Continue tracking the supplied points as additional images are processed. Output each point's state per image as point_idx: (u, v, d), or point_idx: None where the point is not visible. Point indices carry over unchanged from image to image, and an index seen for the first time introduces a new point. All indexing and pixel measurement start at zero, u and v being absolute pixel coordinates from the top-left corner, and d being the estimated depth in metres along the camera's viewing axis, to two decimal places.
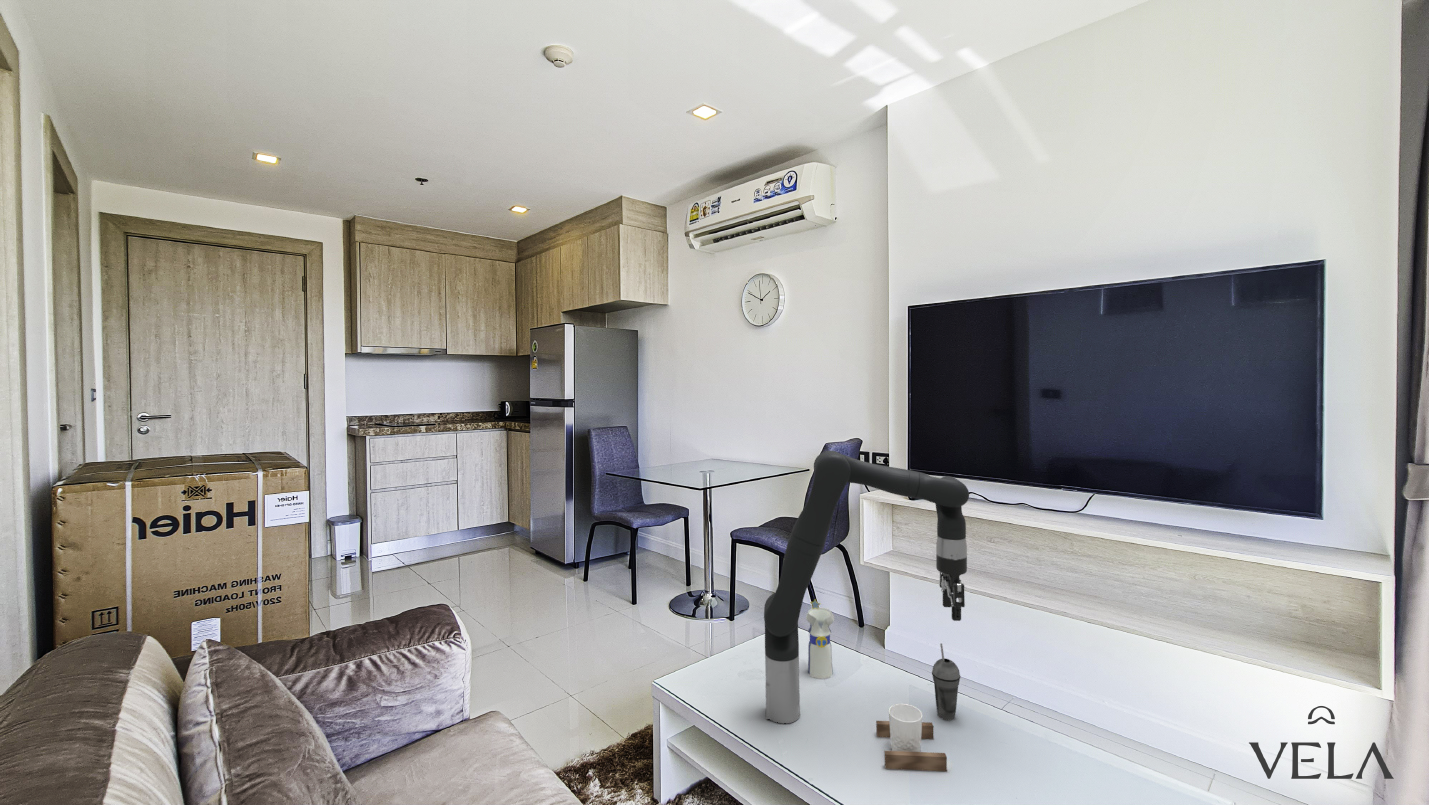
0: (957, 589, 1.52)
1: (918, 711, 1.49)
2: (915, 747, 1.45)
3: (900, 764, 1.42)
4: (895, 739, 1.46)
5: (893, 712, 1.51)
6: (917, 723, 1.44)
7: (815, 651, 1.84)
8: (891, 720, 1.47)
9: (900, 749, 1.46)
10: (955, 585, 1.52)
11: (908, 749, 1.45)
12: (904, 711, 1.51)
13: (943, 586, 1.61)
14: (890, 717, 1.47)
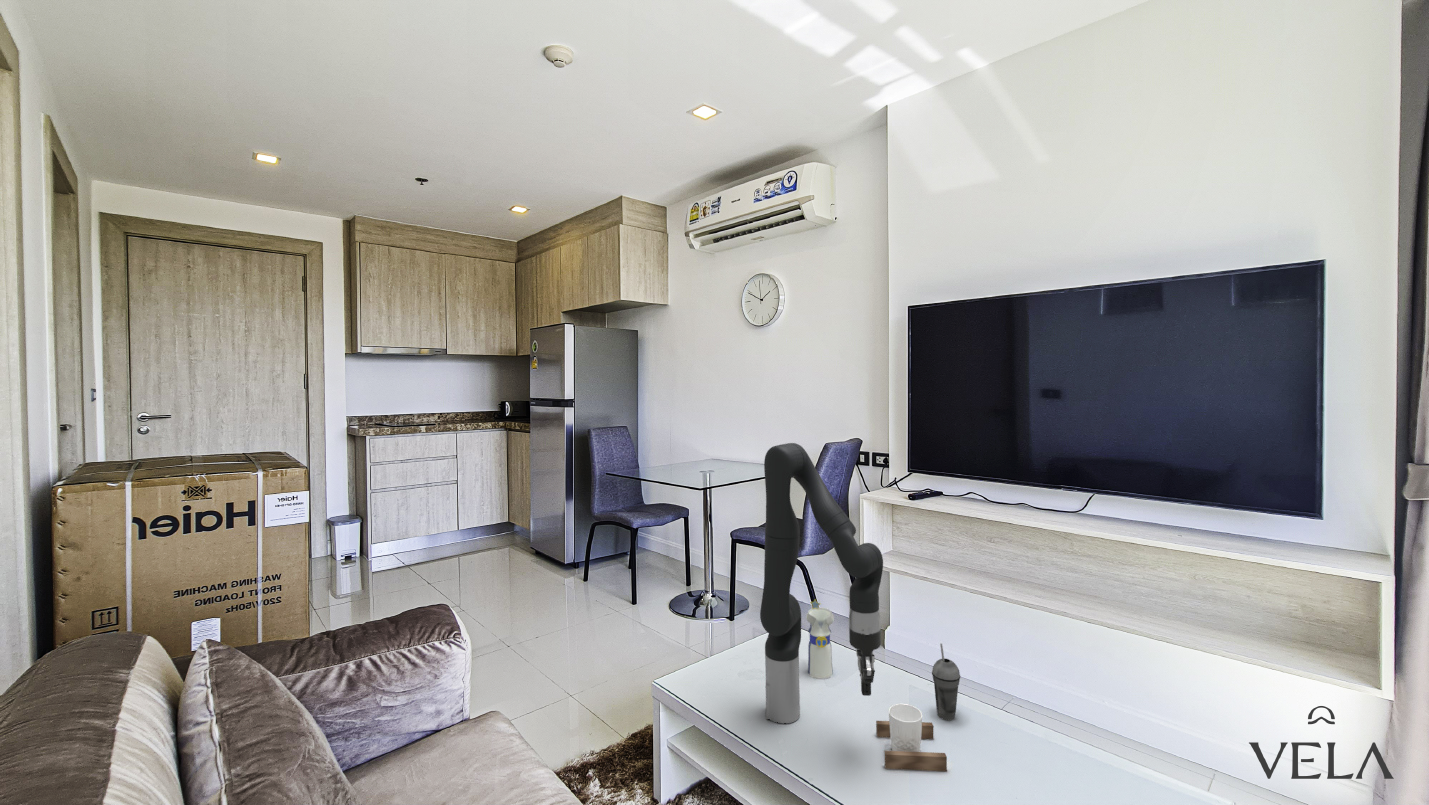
0: (867, 674, 1.43)
1: (918, 711, 1.49)
2: (915, 747, 1.45)
3: (900, 764, 1.42)
4: (895, 739, 1.46)
5: (893, 712, 1.51)
6: (917, 723, 1.44)
7: (815, 651, 1.84)
8: (891, 720, 1.47)
9: (900, 749, 1.46)
10: (865, 672, 1.42)
11: (908, 749, 1.45)
12: (904, 711, 1.51)
13: None
14: (890, 717, 1.47)
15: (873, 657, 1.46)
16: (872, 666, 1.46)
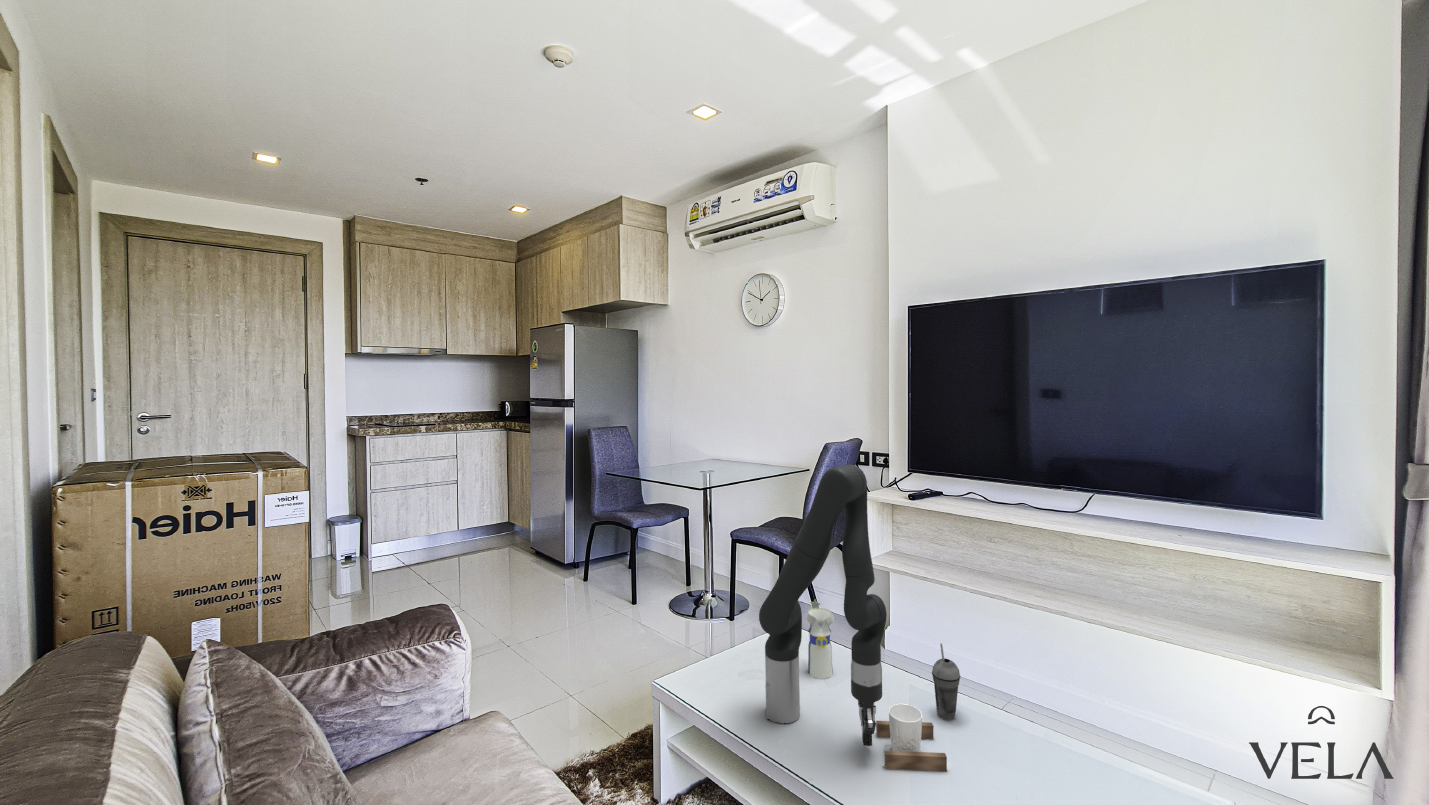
0: (868, 727, 1.43)
1: (918, 711, 1.49)
2: (915, 747, 1.45)
3: (900, 764, 1.42)
4: (895, 739, 1.46)
5: (893, 712, 1.51)
6: (917, 723, 1.44)
7: (815, 651, 1.84)
8: (891, 720, 1.47)
9: (900, 749, 1.46)
10: (866, 725, 1.43)
11: (908, 749, 1.45)
12: (904, 711, 1.51)
13: None
14: (890, 717, 1.47)
15: (874, 708, 1.47)
16: (873, 717, 1.47)
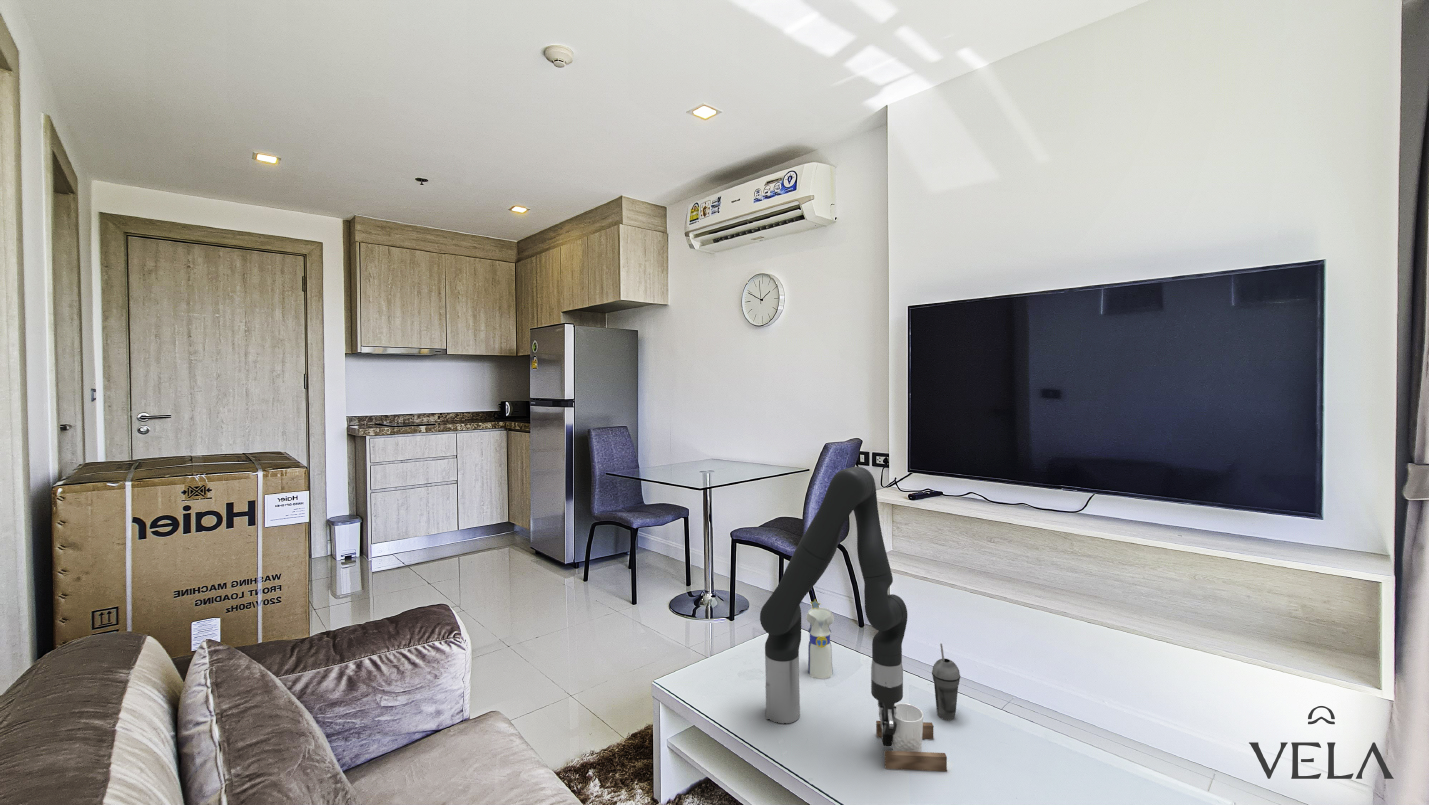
0: (889, 728, 1.43)
1: (919, 711, 1.49)
2: (916, 747, 1.45)
3: (900, 764, 1.42)
4: (896, 738, 1.46)
5: None
6: (918, 723, 1.44)
7: (815, 651, 1.84)
8: None
9: (901, 748, 1.46)
10: (887, 726, 1.42)
11: (909, 749, 1.45)
12: (906, 711, 1.51)
13: None
14: None
15: (895, 709, 1.46)
16: None
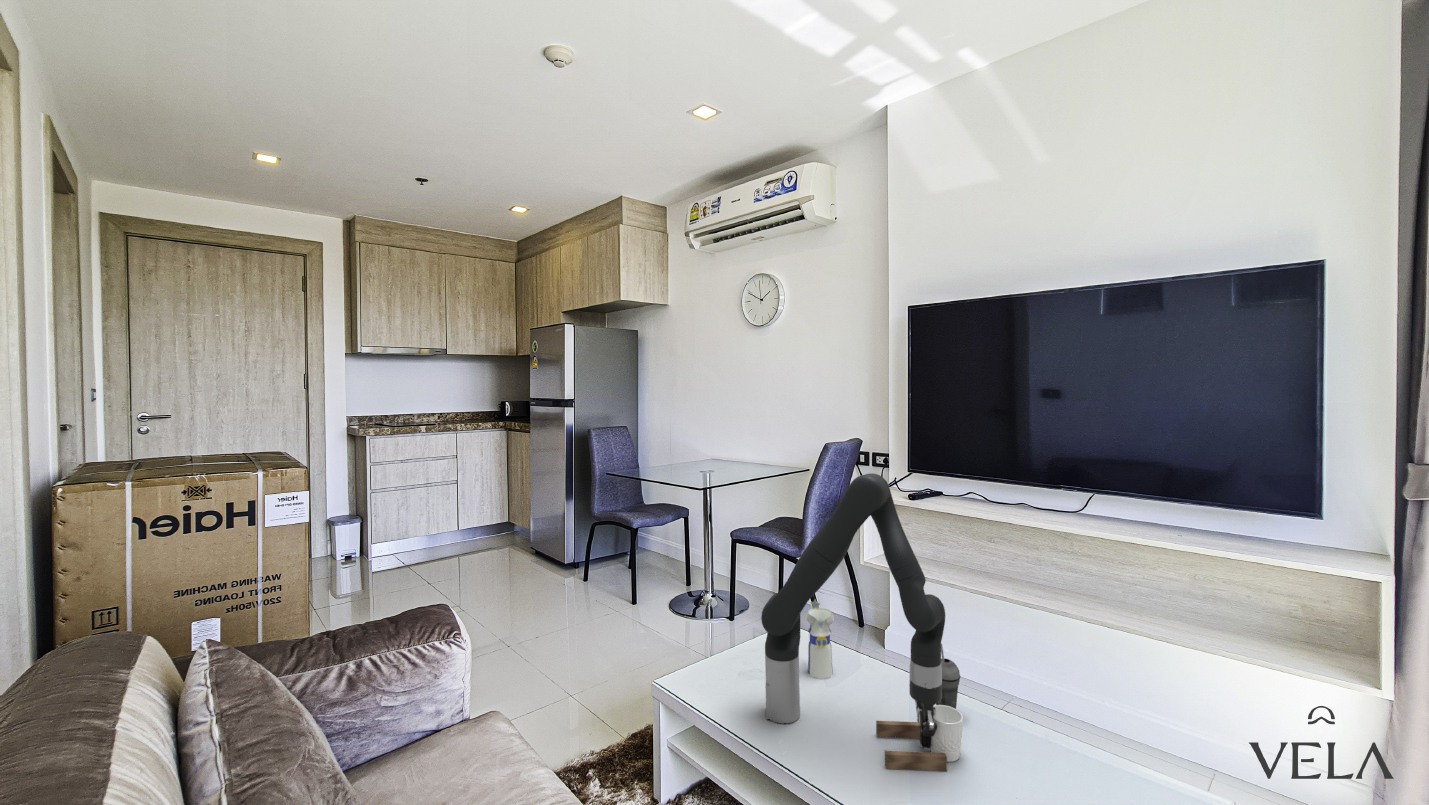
0: (929, 729, 1.42)
1: (959, 713, 1.47)
2: (954, 749, 1.44)
3: (900, 764, 1.42)
4: (934, 740, 1.46)
5: None
6: (957, 725, 1.43)
7: (815, 651, 1.84)
8: None
9: (939, 750, 1.45)
10: (927, 727, 1.41)
11: (947, 751, 1.44)
12: (945, 713, 1.50)
13: (919, 716, 1.48)
14: None
15: (934, 710, 1.45)
16: None
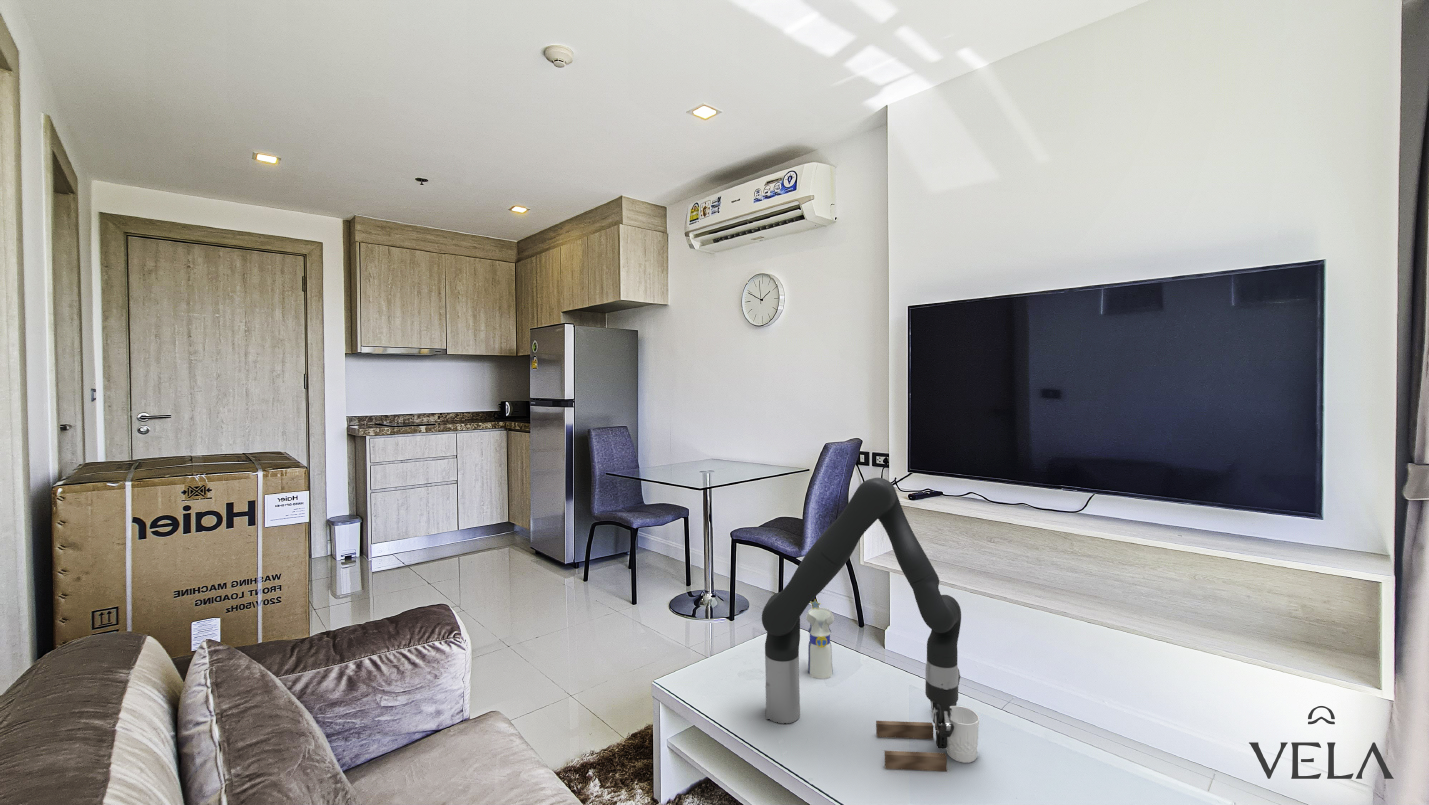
0: (945, 730, 1.42)
1: (975, 715, 1.46)
2: (970, 750, 1.43)
3: (900, 764, 1.42)
4: (950, 740, 1.45)
5: None
6: (972, 726, 1.43)
7: (815, 651, 1.84)
8: None
9: (954, 751, 1.44)
10: (944, 728, 1.41)
11: (963, 752, 1.43)
12: (962, 714, 1.50)
13: (935, 717, 1.48)
14: None
15: (950, 711, 1.45)
16: None
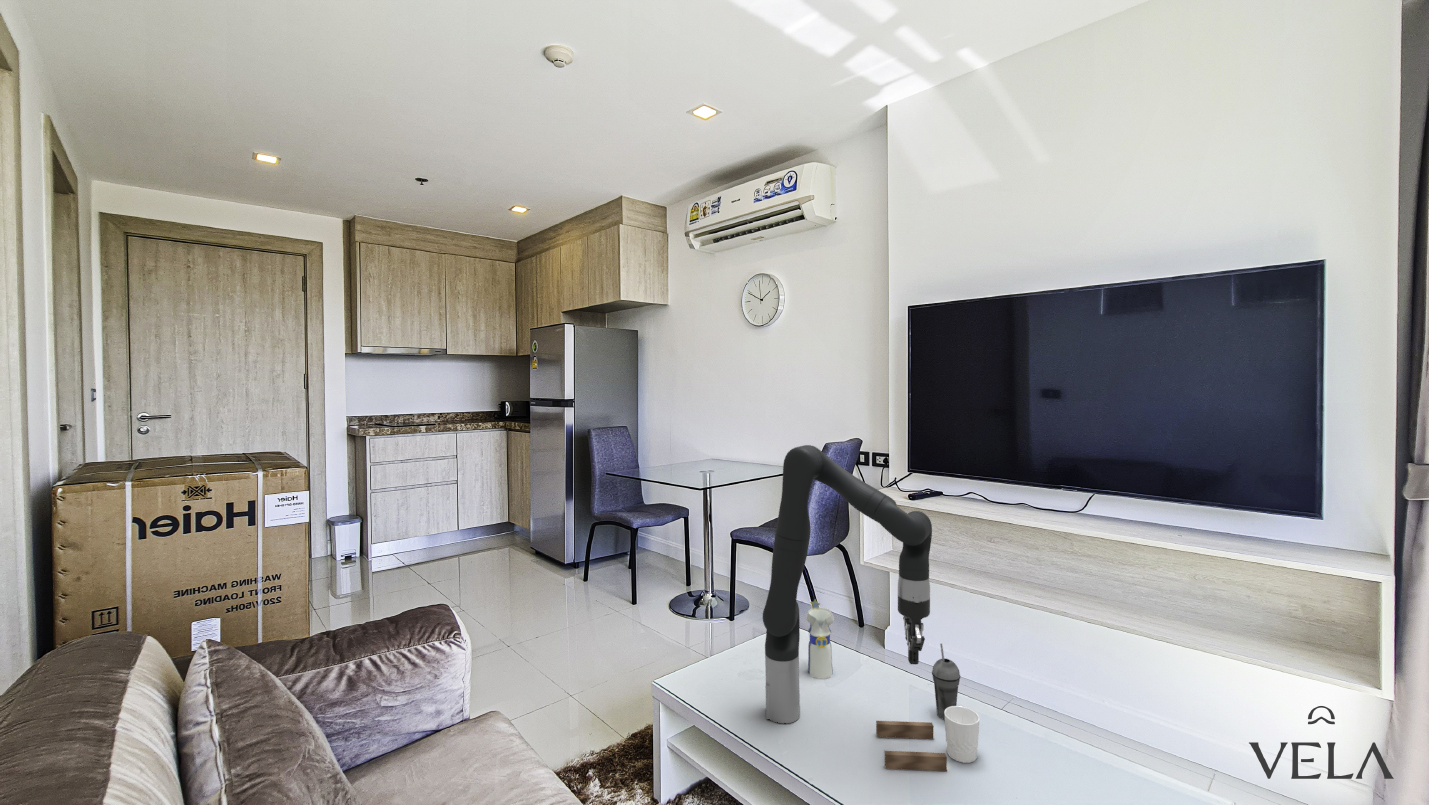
0: (916, 642, 1.42)
1: (976, 715, 1.46)
2: (971, 750, 1.43)
3: (900, 764, 1.42)
4: (950, 740, 1.45)
5: (950, 713, 1.50)
6: (973, 726, 1.43)
7: (815, 651, 1.84)
8: (946, 721, 1.46)
9: (955, 751, 1.44)
10: (915, 640, 1.41)
11: (963, 752, 1.43)
12: (962, 714, 1.50)
13: (907, 633, 1.48)
14: (945, 718, 1.46)
15: (922, 625, 1.45)
16: (921, 634, 1.45)
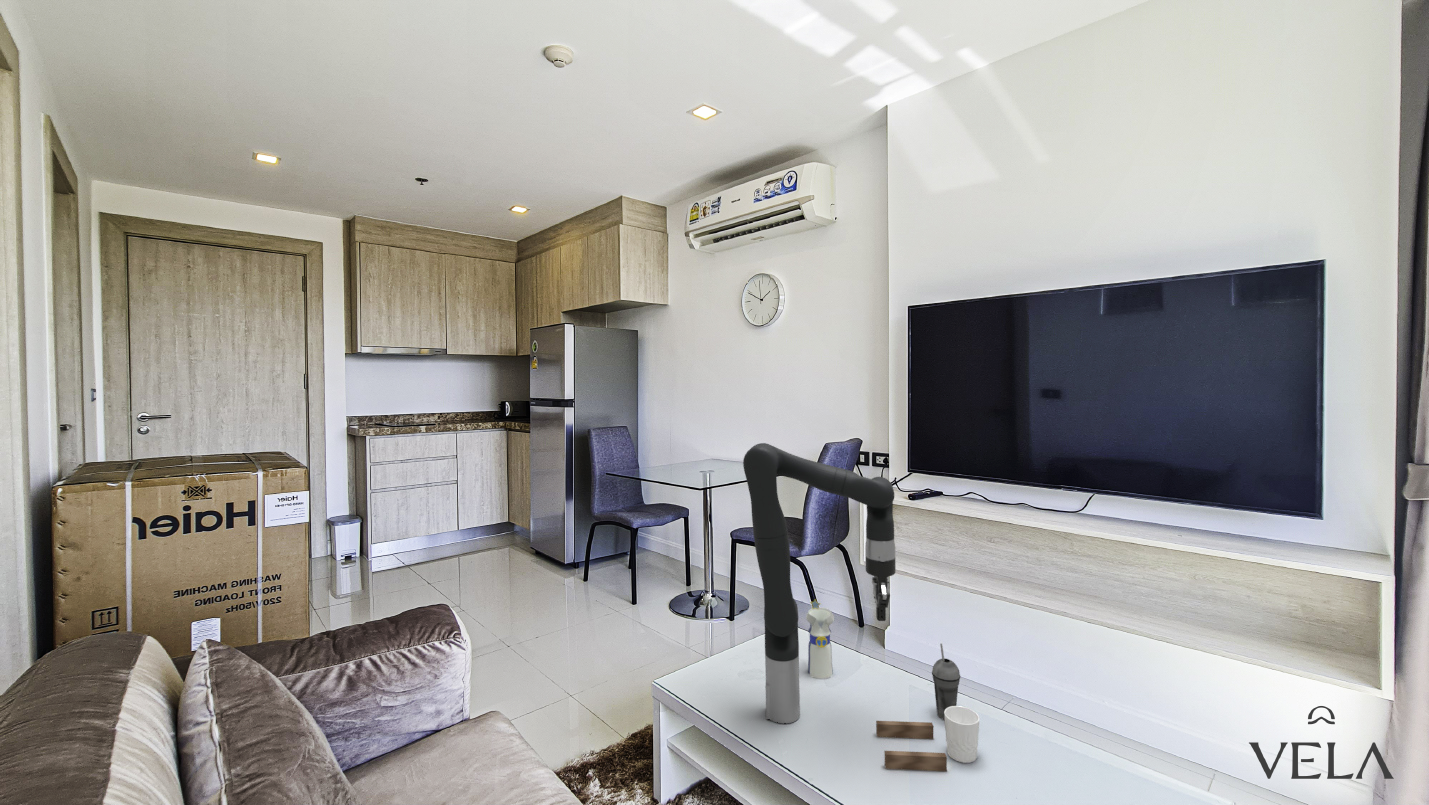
0: (882, 598, 1.51)
1: (976, 715, 1.46)
2: (970, 750, 1.43)
3: (900, 764, 1.42)
4: (950, 740, 1.45)
5: (950, 713, 1.50)
6: (973, 726, 1.43)
7: (815, 651, 1.84)
8: (946, 721, 1.46)
9: (955, 751, 1.44)
10: (881, 596, 1.50)
11: (963, 752, 1.43)
12: (962, 714, 1.50)
13: None
14: (945, 718, 1.46)
15: (888, 584, 1.54)
16: (887, 592, 1.55)
